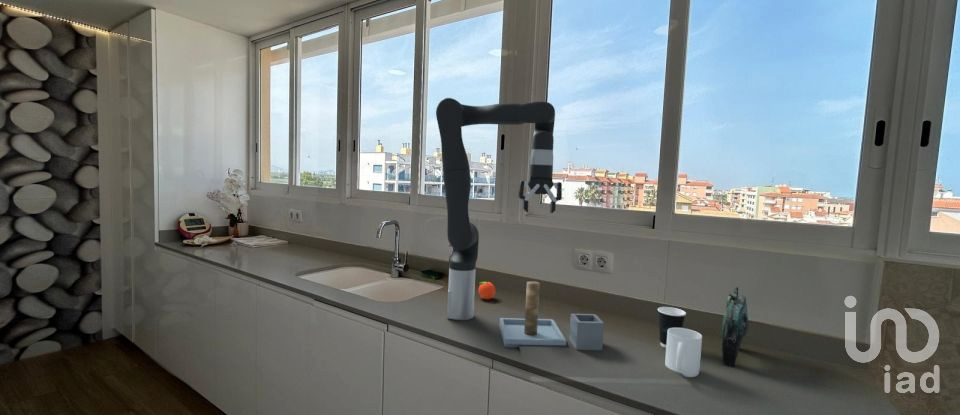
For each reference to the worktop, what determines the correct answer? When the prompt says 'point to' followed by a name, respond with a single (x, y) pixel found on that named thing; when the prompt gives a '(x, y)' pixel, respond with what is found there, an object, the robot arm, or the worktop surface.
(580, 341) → the light blue hollow box
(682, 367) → the mug
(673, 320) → the dixie cup
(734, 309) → the dark green tall piece
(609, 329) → the worktop surface
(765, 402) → the worktop surface
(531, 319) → the pin
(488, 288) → the clementine
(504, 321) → the tray
